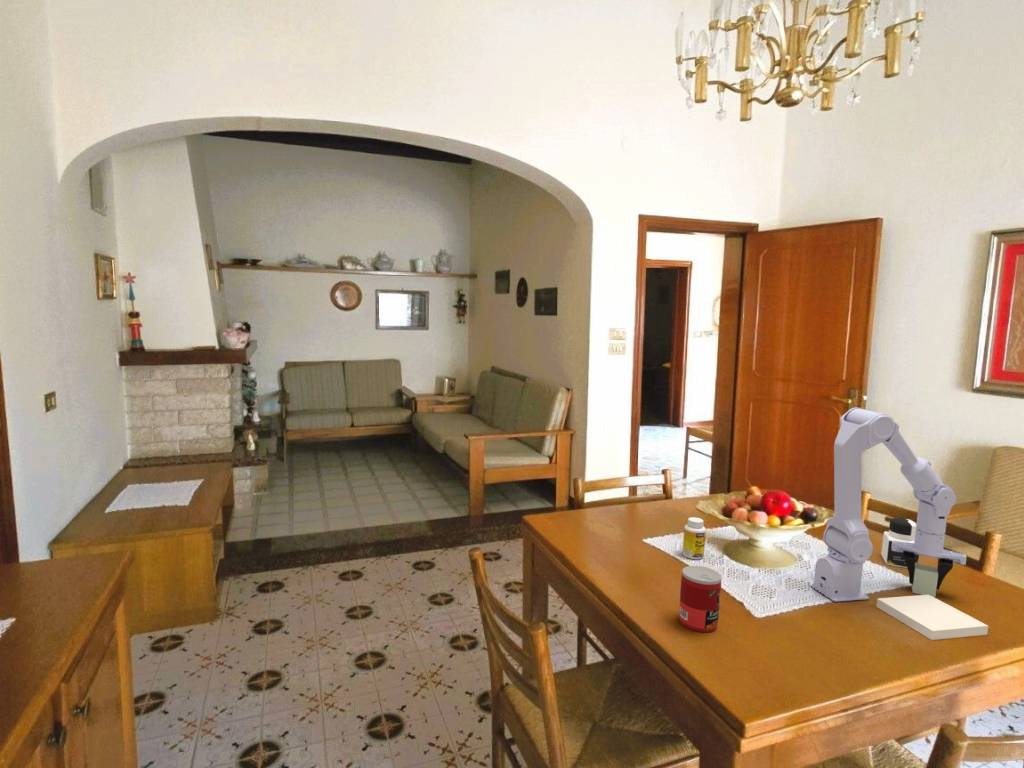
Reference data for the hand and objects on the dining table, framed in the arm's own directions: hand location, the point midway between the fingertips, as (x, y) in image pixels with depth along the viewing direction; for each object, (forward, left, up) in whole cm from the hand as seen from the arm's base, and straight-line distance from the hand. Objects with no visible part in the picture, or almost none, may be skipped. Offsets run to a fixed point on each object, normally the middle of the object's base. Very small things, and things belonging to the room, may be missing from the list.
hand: (923, 585), depth 142 cm
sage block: (0, 0, -2) cm, 2 cm away
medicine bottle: (+9, +16, -2) cm, 18 cm away
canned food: (-63, -6, -2) cm, 63 cm away
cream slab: (-11, -12, -2) cm, 16 cm away
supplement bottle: (-46, +27, -2) cm, 53 cm away
